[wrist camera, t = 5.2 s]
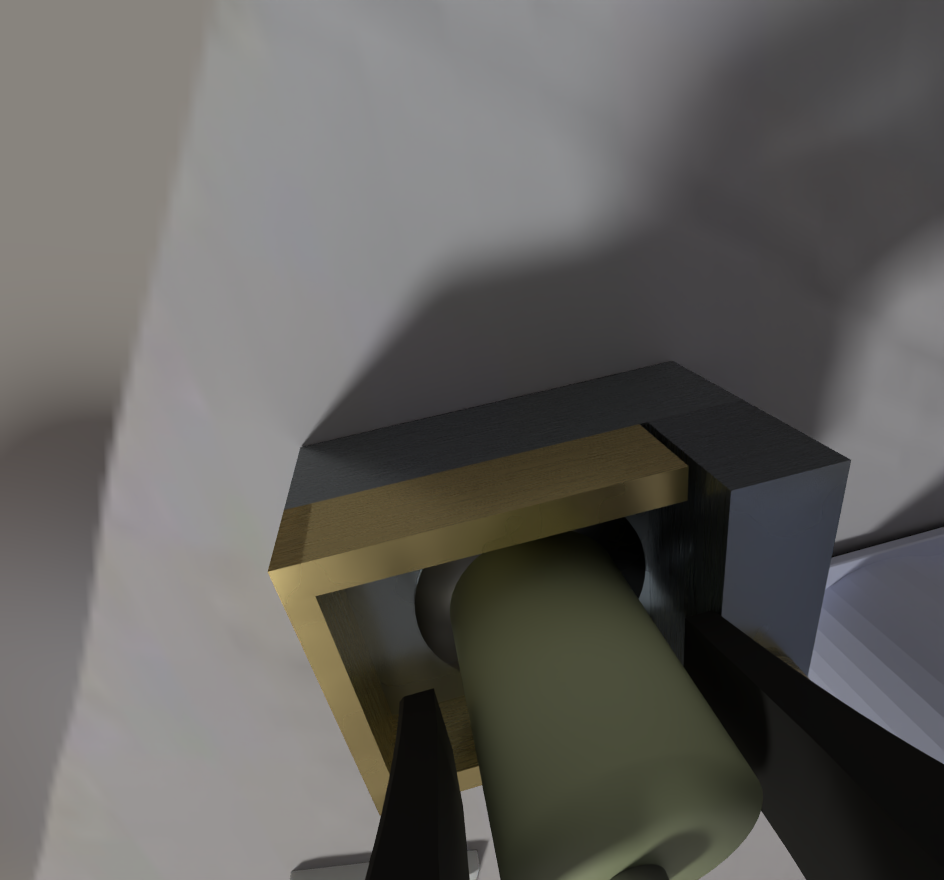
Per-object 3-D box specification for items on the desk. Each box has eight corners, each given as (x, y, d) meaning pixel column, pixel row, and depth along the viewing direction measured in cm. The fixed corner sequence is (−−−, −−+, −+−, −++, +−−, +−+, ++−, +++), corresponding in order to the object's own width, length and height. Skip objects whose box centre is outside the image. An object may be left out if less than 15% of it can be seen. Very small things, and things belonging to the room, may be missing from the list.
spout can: (617, 512, 12) (833, 787, 7) (616, 641, 14) (779, 938, 9) (437, 550, 12) (502, 882, 6) (461, 679, 14) (527, 1019, 8)
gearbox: (673, 361, 14) (891, 482, 8) (670, 575, 18) (821, 767, 12) (300, 447, 14) (246, 652, 8) (376, 654, 17) (381, 904, 11)
